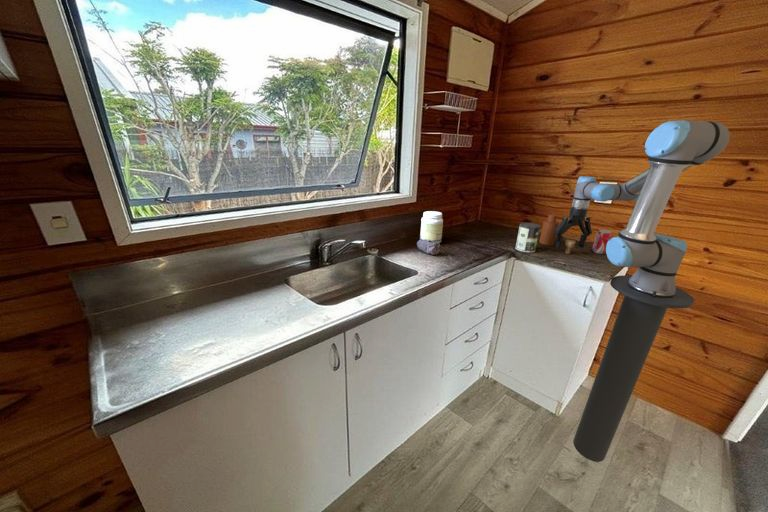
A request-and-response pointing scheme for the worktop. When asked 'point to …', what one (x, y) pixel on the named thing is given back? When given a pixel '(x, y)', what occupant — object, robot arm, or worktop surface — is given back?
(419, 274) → the worktop surface
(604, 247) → the soda can
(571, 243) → the stopper
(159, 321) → the worktop surface
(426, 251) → the perforated stone tool
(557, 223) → the bottle
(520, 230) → the coffee can
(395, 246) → the worktop surface
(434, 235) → the supplement tub
